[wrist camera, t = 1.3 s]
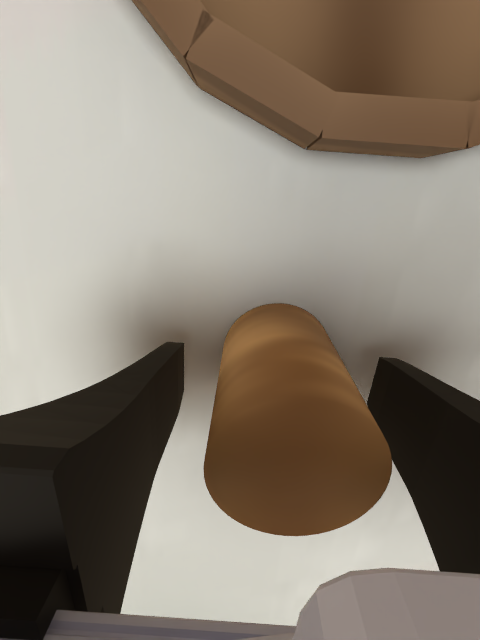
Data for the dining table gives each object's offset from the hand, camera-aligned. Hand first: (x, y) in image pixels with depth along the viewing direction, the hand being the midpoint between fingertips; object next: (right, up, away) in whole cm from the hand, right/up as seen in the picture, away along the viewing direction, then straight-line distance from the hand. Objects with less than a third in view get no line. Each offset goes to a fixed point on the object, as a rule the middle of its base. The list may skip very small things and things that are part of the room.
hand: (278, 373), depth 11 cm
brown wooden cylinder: (0, +1, +1) cm, 2 cm away
